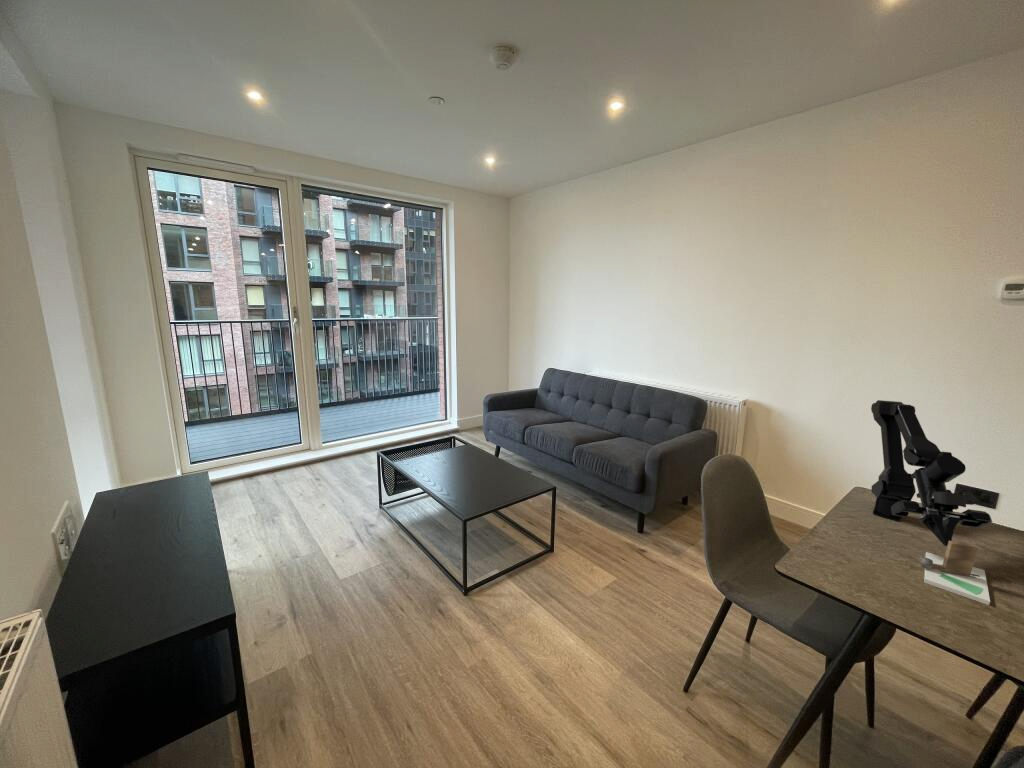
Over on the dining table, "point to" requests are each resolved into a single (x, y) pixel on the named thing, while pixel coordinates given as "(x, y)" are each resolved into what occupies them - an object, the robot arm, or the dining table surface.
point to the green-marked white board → (958, 581)
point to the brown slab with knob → (955, 559)
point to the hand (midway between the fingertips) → (947, 545)
